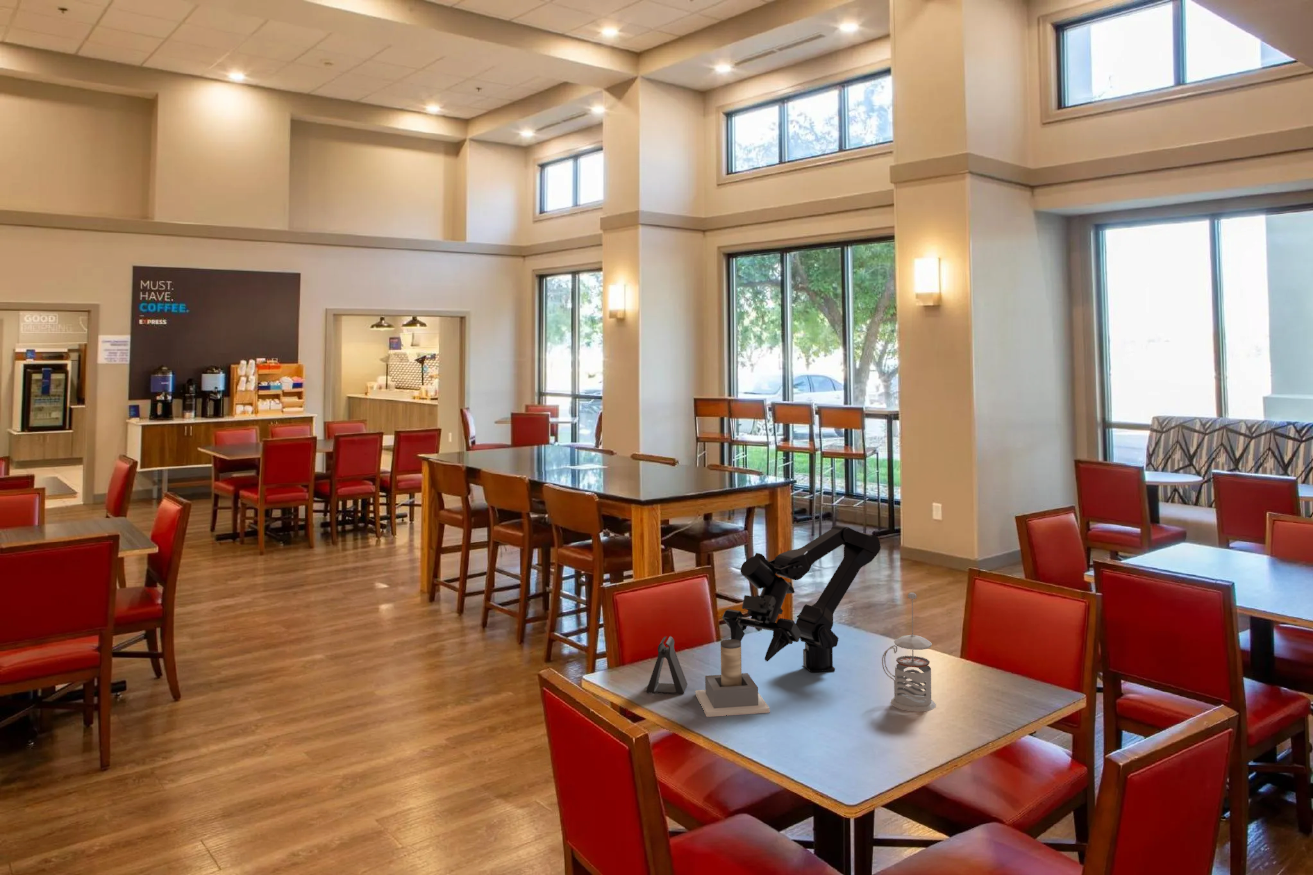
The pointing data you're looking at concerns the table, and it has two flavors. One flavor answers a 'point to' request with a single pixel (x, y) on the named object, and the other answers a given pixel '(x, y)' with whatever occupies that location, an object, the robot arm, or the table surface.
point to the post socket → (730, 698)
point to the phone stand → (675, 671)
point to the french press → (911, 674)
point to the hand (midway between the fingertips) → (748, 656)
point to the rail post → (731, 663)
